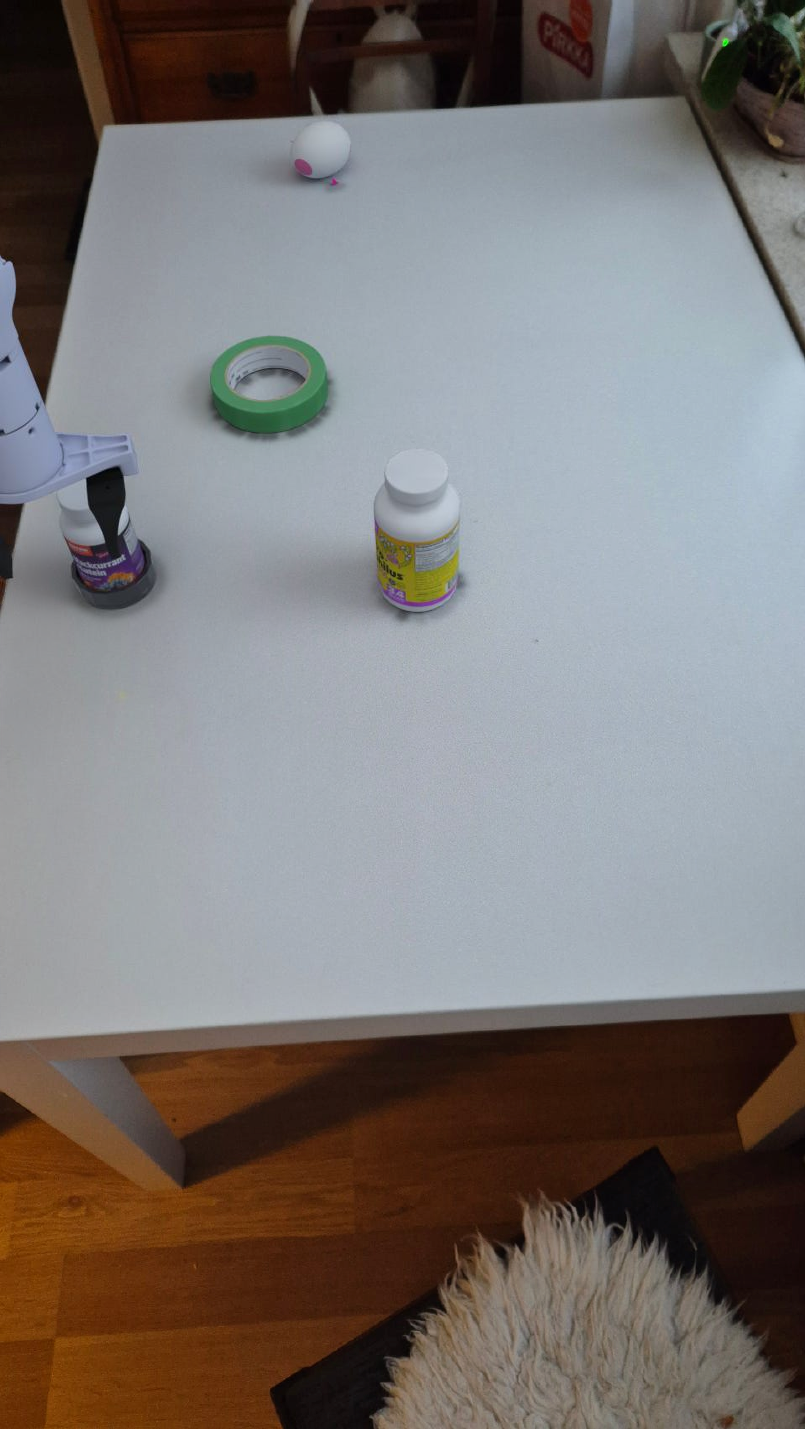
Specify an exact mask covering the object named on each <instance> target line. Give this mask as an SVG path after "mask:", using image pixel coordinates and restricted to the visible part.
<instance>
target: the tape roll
mask: <svg viewBox="0 0 805 1429" xmlns="http://www.w3.org/2000/svg"><path fill="white" fill-rule="evenodd" d="M275 368H276V369H285V370H290V371H293V372H295V373H297V374H299V375H300V376H302V378H304V379H305V380H304V381H303V383H302V384H301V385H300V386H299V387H298V388H296V390H294V391H292V392H291V393H288V394H285V395H282V396H279V397H278V398H273V399H272V398H271V399H257V398H256V399H255V398H250V397H247V396H245V395H242V394H241V393H239V392H237V390H235V387H236V385H237V384H238V383H239V382H240V381H241V380H242V379H243V378H245V377H246V376H248V375H250V374H252V373H254V372H257V371H260V370H265V369H275ZM327 375H328V374H327V366H326V362H325V360H324V358H323V356H322V355H321V353H320V352H319V351H318V350H317V349H316V348H315V347H314V346H312V345H311V344H309V343H308V342H305V341H303V340H300V339H299V338H295V337H290V336H286V335H285V336H284V335H262V336H257V337H256V336H255V337H251V338H248V339H245V340H242V341H240V342H238V343H235V344H234V345H231V346H230V347H229V348H227V349H226V350H225V351H224V352H222V353H221V354H220V355H219V357H217V359H216V360H215V361H214V364H213V365H212V368H211V370H210V375H209V383H210V389H211V393H212V396H213V401H214V405H215V408H216V411H217V412H218V414H219V415H220V416H221V418H222V419H223V420H224V421H225V422H227V423H228V424H229V425H230V426H231V425H232V426H233V427H235V428H238V429H239V430H243V431H246V432H251V433H257V434H275V433H283V432H286V431H290V430H293V429H296V428H297V427H300V426H303V425H304V424H306V423H308V422H310V421H311V420H312V419H313V418H315V417H316V416H317V415H318V414H319V413H320V412H321V410H322V409H323V408H324V406H325V404H326V402H327V400H328V396H329V385H328V376H327Z"/></svg>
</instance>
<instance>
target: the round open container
mask: <svg viewBox="0 0 805 1429" xmlns="http://www.w3.org/2000/svg"><path fill="white" fill-rule="evenodd" d="M138 541H139V544H140V547H141V550H142V553H143V556H144V559H145V563H146V565H145V568H144V570H143V573H142V574H141V575H140V576H139V577H138V578H137V579H136V580H135V581H134V582H132V583H130V584H128V585H126V586H124V587H122V588H120V589H115V590H109V591H102V590H93V589H91V588H89V587H87V586H85V584H84V582H83V581H82V578H81V576H80V574H79V571H78V569H77V566H76V564H75V562H74V559H73V558H72V559H73V560H72V561H71V564H70V575H71V579H72V581H73V583H74V585H75V588H76V590H77V591H78V593H79V595H80V596H81V598H82V599H83V600H84V602H86V603H87V604H89V605H91V606H92V607H94V608H99V609H102V610H119V609H124V608H127V607H130V606H133V605H135V604H136V603H139V602H140V601H142V599H144V598H145V597H147V595H148V594H149V593H150V592H151V591H152V589H153V587H154V585H155V583H156V579H157V570H156V566H155V561H154V558H153V555H152V552H151V550H150V548H149V547H148V546H147V545H146V543H145V542H144V541H143V540H141V539H140V538H138Z"/></svg>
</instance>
